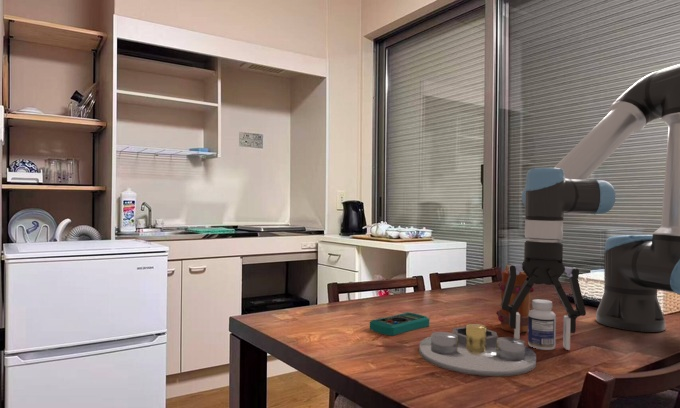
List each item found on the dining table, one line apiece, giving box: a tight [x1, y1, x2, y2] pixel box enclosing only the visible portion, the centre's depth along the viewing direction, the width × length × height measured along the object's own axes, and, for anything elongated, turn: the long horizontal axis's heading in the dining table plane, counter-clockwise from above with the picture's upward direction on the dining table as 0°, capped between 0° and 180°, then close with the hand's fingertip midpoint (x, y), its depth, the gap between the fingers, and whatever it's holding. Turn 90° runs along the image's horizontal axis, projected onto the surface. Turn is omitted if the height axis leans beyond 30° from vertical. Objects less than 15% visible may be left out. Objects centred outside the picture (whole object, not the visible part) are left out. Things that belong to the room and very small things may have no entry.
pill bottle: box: [527, 298, 557, 351], centre depth 100 cm, size 5×5×10 cm
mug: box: [495, 264, 535, 334], centre depth 115 cm, size 15×8×15 cm, turn 168°
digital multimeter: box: [369, 312, 430, 337], centre depth 113 cm, size 7×15×3 cm, turn 132°
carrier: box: [418, 323, 537, 377], centre depth 92 cm, size 22×22×6 cm
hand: (541, 345), depth 99 cm, fingers open, 9 cm apart
